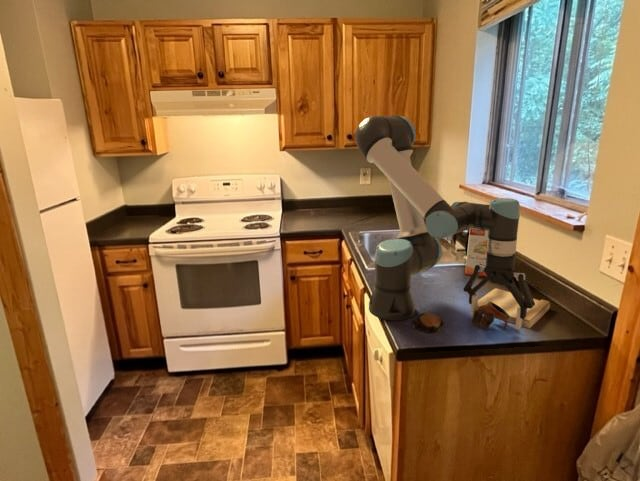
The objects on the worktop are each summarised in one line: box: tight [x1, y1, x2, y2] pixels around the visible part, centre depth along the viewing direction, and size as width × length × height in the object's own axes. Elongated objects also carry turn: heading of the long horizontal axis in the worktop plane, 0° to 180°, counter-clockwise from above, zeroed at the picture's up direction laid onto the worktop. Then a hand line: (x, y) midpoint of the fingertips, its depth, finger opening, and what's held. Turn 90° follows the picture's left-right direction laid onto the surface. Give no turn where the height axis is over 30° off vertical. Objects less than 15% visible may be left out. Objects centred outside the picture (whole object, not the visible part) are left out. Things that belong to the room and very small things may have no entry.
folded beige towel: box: [477, 287, 551, 329], centre depth 130 cm, size 18×18×3 cm
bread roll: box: [412, 312, 445, 335], centre depth 121 cm, size 11×8×4 cm
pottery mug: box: [471, 302, 510, 330], centre depth 119 cm, size 12×10×8 cm
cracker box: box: [464, 229, 488, 277], centre depth 157 cm, size 14×6×21 cm, turn 70°
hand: (495, 320), depth 118 cm, fingers open, 13 cm apart
